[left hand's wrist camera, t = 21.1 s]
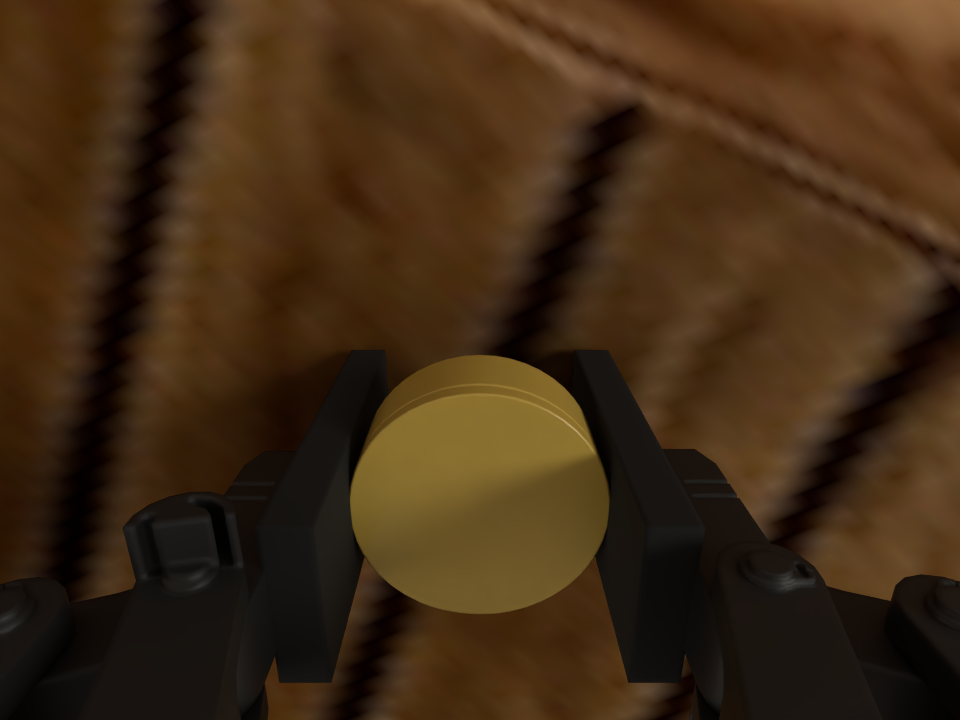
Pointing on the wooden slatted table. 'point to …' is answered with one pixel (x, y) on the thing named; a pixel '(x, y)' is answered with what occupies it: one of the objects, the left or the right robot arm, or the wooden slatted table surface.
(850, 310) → the wooden slatted table surface
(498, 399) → the lid
